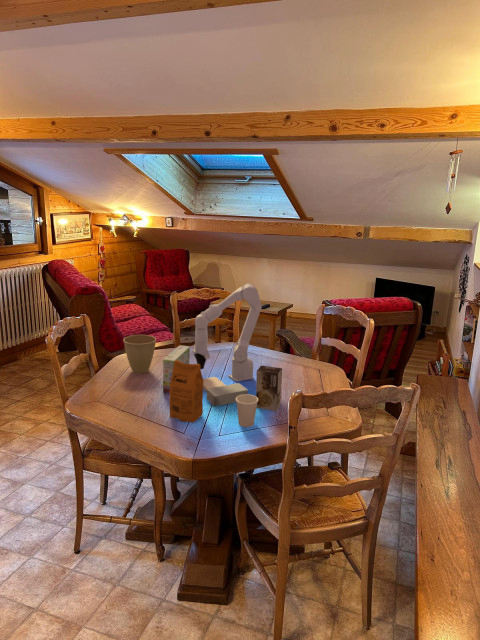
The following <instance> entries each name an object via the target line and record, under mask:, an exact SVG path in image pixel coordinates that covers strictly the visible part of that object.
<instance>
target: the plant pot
mask: <svg viewBox="0 0 480 640" xmlns="http://www.w3.org/2000/svg"><path fill="white" fill-rule="evenodd" d="M156 343H157V338H156V337H155V336H153V335H149V334H148V335H147V334H131V335H128V336H126V337H124V338H123V345H124V350H125V354H126V358H127V361H128V364H129V366H130V368H131V369H130V370H131V371H132V373H134V374H137V373H142V374H145V373H148V372H149V370H150V368H151V365H152V361H153V357H154V353H155V349H156Z"/></svg>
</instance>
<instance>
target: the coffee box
mask: <svg viewBox="0 0 480 640" xmlns="http://www.w3.org/2000/svg"><path fill="white" fill-rule="evenodd" d="M282 376H283V368H281V367H276V366H275V367H274V366H269V365H268V366H266V365H260V366H259V367H258V369H257V370H256V380H255V381H256V382H255V383H256V386H255V387H256V388H255V390H256V391H255V396H256V397H257V398H258V402H257V408H256V409H261V410H267V411H273V412H278V410H279V409H280V407H281V406H282V405H281V404H282V403H281V400H282V379H283V377H282ZM280 405H281V406H280Z"/></svg>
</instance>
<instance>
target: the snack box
mask: <svg viewBox="0 0 480 640" xmlns="http://www.w3.org/2000/svg"><path fill="white" fill-rule="evenodd" d="M190 348H191V347H190V346H189V345H178V346H177V347H176V348H175V349H174V350H173V351H171V352H170V353H169V354H168V355H167V356H165V358H163V360H162V364H163V365H162V367H163V368H162V369H163V370H162V371H163V372H162V373H163V375H162V393H167V394H170V383H171V378H172V373H173V366H174V362H175V360H178V361H180V362H182V363H184V364H190V354H191V353H190V352H191V350H190Z"/></svg>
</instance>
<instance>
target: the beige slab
mask: <svg viewBox="0 0 480 640" xmlns="http://www.w3.org/2000/svg"><path fill="white" fill-rule="evenodd" d="M248 391H249V390H248V388H247V387H245V386H243V385H242V384H241V383H240V382H236V383H232V384H225V386H220V387H214V388H209V389H207V392H206V400H207V401H208V402H209V403H210V404H211V405H213V407H219V406H225V405H229V404H235V403H237V402H236V397H237V396H239V395H243V394H249V393H248Z"/></svg>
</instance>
